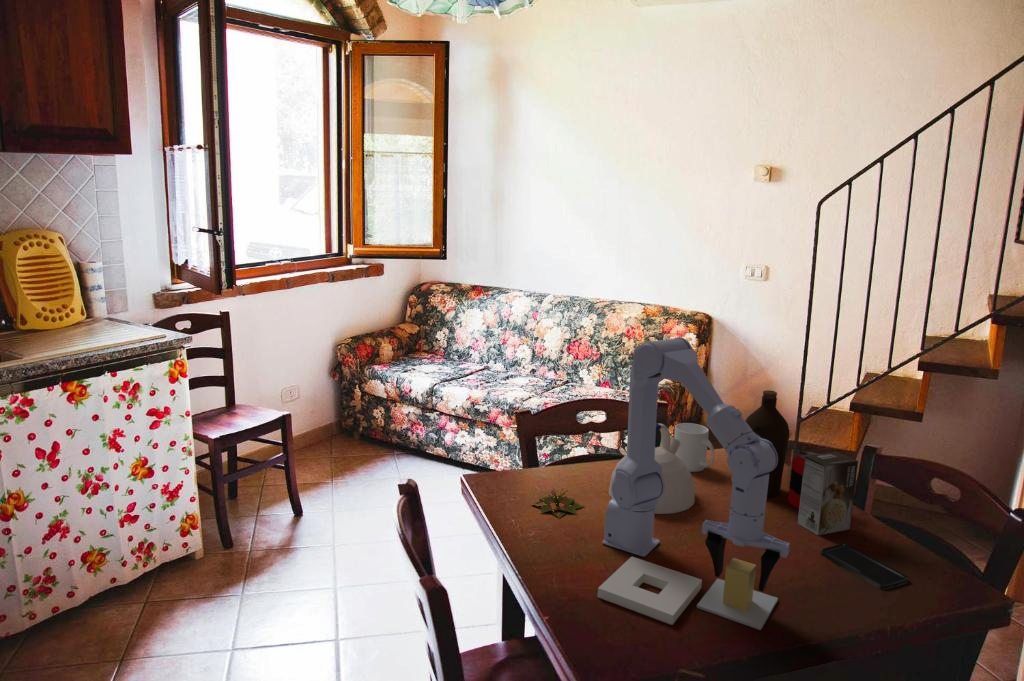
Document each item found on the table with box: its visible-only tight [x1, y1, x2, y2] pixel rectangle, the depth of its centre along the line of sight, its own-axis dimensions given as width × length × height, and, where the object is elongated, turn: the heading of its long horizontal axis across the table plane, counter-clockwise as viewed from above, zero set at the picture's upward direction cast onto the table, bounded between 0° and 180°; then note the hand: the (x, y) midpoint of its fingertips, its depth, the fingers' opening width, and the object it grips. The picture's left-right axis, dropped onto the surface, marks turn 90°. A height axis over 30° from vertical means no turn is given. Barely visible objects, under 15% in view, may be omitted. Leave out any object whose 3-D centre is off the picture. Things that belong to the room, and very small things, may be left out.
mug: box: [673, 422, 715, 473], centre depth 188 cm, size 9×12×11 cm
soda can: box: [787, 451, 817, 509], centre depth 168 cm, size 8×8×12 cm
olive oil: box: [745, 389, 790, 498], centre depth 174 cm, size 11×11×25 cm
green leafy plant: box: [533, 487, 586, 519], centre depth 163 cm, size 12×12×5 cm
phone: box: [819, 543, 909, 591], centre depth 141 cm, size 8×1×15 cm
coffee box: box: [797, 451, 859, 536], centre depth 156 cm, size 9×6×16 cm
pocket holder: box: [597, 556, 703, 626], centre depth 129 cm, size 14×14×2 cm
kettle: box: [608, 423, 696, 515], centre depth 169 cm, size 20×21×18 cm
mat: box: [696, 577, 779, 631], centre depth 127 cm, size 11×11×1 cm
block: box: [723, 557, 757, 611], centre depth 126 cm, size 4×4×7 cm
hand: (740, 581), depth 126 cm, fingers open, 7 cm apart
